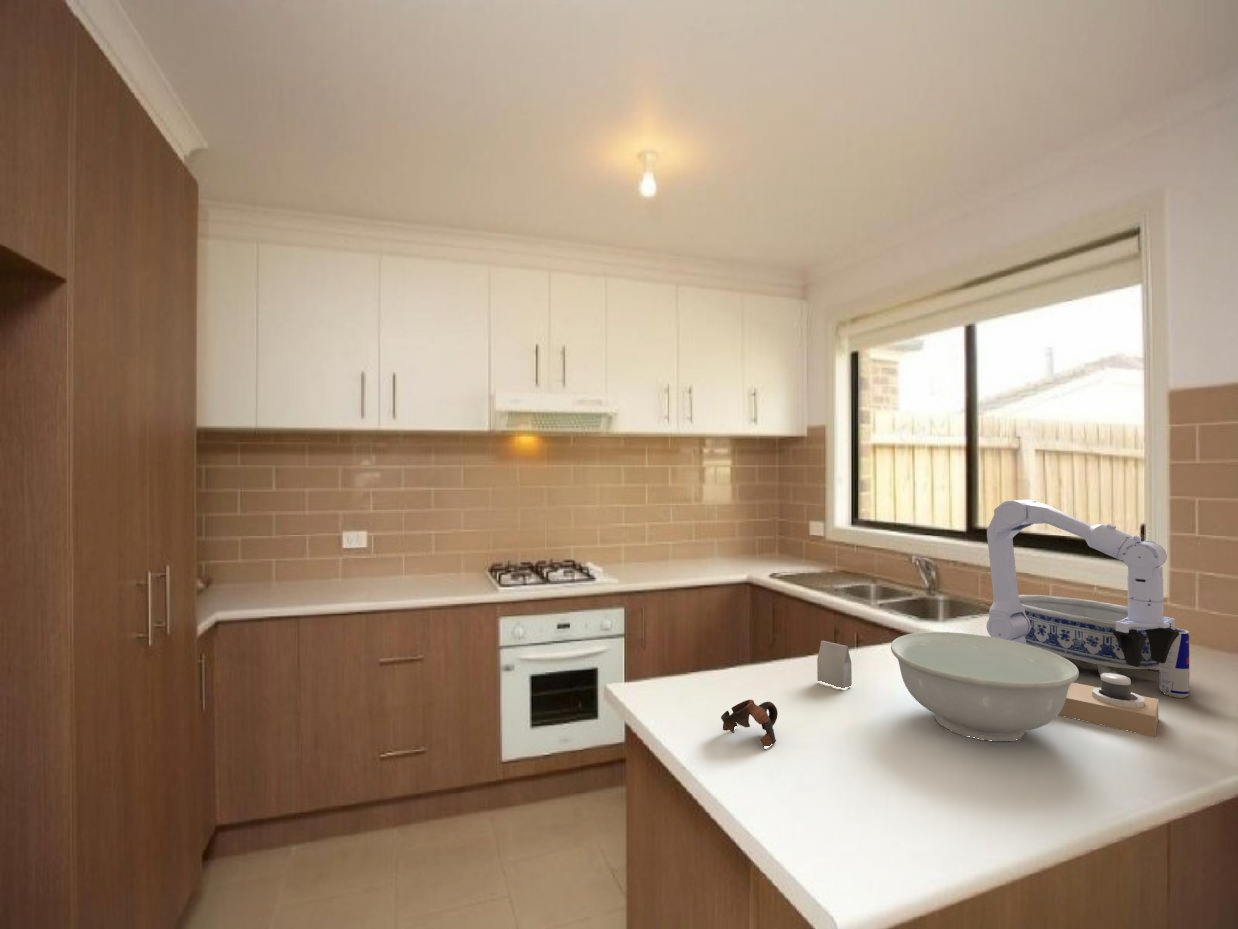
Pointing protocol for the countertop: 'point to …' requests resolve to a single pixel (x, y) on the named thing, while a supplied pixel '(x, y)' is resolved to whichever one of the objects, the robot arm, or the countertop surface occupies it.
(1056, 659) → the bowl
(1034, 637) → the decorative bowl
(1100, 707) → the tan flat ringed block
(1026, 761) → the countertop surface
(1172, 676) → the white and blue canister
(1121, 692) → the white domed push button
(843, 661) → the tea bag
